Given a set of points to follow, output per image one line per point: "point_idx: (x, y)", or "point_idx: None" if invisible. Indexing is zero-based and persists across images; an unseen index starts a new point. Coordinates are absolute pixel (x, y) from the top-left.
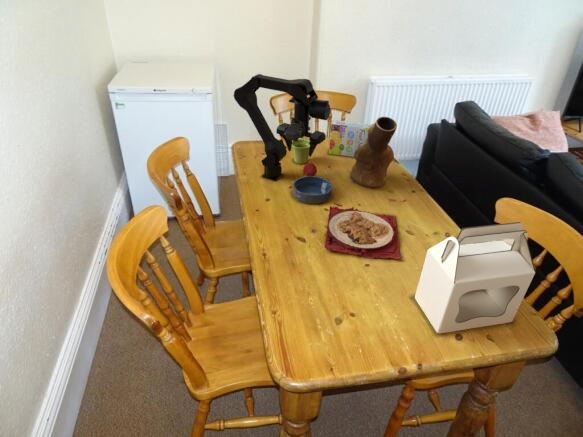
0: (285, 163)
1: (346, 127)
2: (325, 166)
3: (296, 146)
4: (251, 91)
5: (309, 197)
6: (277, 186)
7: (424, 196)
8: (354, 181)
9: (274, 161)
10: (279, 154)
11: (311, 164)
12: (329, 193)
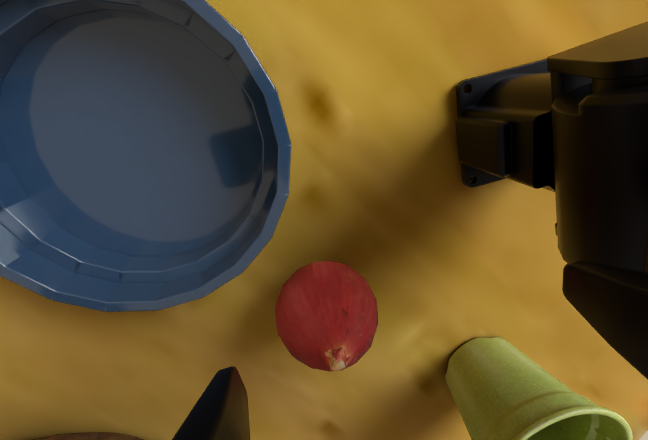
0: (529, 290)
1: None
2: (348, 419)
3: (572, 426)
4: None
5: None
6: (393, 38)
7: None
8: (106, 437)
9: (594, 57)
10: (638, 125)
11: (319, 348)
12: None
